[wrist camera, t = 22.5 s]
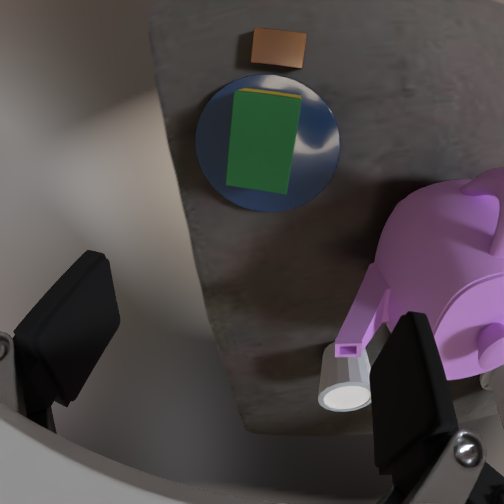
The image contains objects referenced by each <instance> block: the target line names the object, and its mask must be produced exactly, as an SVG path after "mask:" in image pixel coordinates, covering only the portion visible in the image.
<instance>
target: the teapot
mask: <svg viewBox="0 0 504 504" xmlns="http://www.w3.org/2000/svg"><path fill="white" fill-rule="evenodd" d="M408 311H413V312H419V313H425V314H426V315H427V318H428V320H429V323H430V326H431V329H432V332H433V335H434V338H435V341H436V344H437V348H438V351H439V354H440V357H441V361H442V364H443V367H444V371H445V375H446V378H447V380H455V379H462V378H466V377H471V376H475V375H478V374H482V373H485V372H488V371H490V370H493V369H495V368H497V367H499V366H501V365H503V364H504V168H494V169H491V170H488V171H486V172H484V173H482V174H480V175H479V176H477V177H475V178H474V179H456V180H449V181H444V182H440V183H435V184H432V185H429V186H426V187H423V188H420V189H418V190H416V191H415V192H413V193H411V194H409V195H408V196H407V197H406V198H405V199H403V200H401V201H400V202H399V203H398V204H397V205H396V206H395V208H394V210H393V212H392V213H391V215H390V216H389V218H388V220H387V222H386V224H385V226H384V228H383V231H382V234H381V236H380V239H379V243H378V246H377V250H376V255H375V262H374V263H372V264H370V265H369V267H368V270H367V272H366V274H365V277H364V279H363V281H362V284H361V286H360V288H359V291H358V293H357V295H356V297H355V300H354V302H353V304H352V306H351V308H350V310H349V313H348V315H347V317H346V319H345V321H344V323H343V325H342V327H341V329H340V332H339V334H338V336H337V338H336V340H335V357H361V352H362V351H363V350H364V348H365V347H366V345H367V344H368V343H369V341H370V340H371V338H372V337H373V336H374V334H375V333H376V331H377V330H378V328H379V327H380V325H381V324H382V323H384V322H385V323H386V325H387V327H388V329H389V331H390V332H391V333H392V331H393V329H394V327H395V326H396V324H397V322H398V320H399V318H400V317H401V316H402V315H405V314H406V313H407V312H408Z"/></svg>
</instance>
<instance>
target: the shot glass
mask: <svg viewBox="0 0 504 504" xmlns="http://www.w3.org/2000/svg"><path fill="white" fill-rule="evenodd" d="M370 370H371V368H370V364H369V360H368V356H367V352H366V348H364V350H363V351H362V352H361V357H335V342H333V343H331V344H329V345H328V346H327V347H326V348H325V350H324V353H323V359H322V368H321V377H320V385H319V393H318V401H319V404H320V405H321V406H323V407H324V408H325V409H328V410H332V411H339V412H347V411H353V410H357V409H360V408H363V407H365V406H367V405H368V404H370V403H371V392H370V381H369V373H370Z"/></svg>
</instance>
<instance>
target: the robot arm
mask: <svg viewBox="0 0 504 504" xmlns="http://www.w3.org/2000/svg"><path fill="white" fill-rule="evenodd" d="M119 324H120V315H119V310H118V305H117V301H116V296H115V291H114V285H113V281H112V275H111V269H110V263H109V260H108V259H106V257H105V255H104V254H103V253H100V252H95V251H91V250H87V251H86V252H85V253H84V254H83V255H82V256H81V257H80V258H79V259H78V260H77V261H76V262H75V263H74V264H73V265H72V266H71V267H70V268H69V269H68V270H67V271H66V272H65V273H64V274H63V275H62V276H61V277H60V278H59V280H58V281H57V282H56V283H55V284H54V285H53V286H52V287H51V288H50V289H49V290H48V291H47V293H46V294H45V295H44V296H43V297H42V298H41V299H40V300H39V302H38V303H37V304H36V305H35V306H34V307H33V308H32V310H31V311H30V312H29V313H28V314H27V315H26V317H25V318H24V319H23V320H22V321H21V323H20V324H19V325H18V326H17V328H16V329H15V330H14V333H15V336H14V337H13V338H11V336H10V335H8V334H7V333H5V332H0V504H290V503H279V502H271V501H264V500H257V499H249V498H244V497H239V496H233V495H227V494H223V493H218V492H213V491H209V490H205V489H200V488H196V487H192V486H188V485H184V484H181V483H177V482H174V481H171V480H167V479H164V478H161V477H157V476H154V475H151V474H148V473H146V472H143V471H140V470H137V469H134V468H131V467H129V466H126V465H123V464H121V463H118V462H116V461H113V460H111V459H108V458H106V457H104V456H101V455H99V454H97V453H94V452H92V451H90V450H87V449H86V448H83V447H81V446H79V445H77V444H75V443H73V442H71V441H69V440H67V439H65V438H63V437H61V436H59V435H57V433H56V429H55V424H54V419H53V414H52V409H51V405H52V403H53V402H54V401H55V402H58V403H59V404H62V405H63V406H66V407H68V405H69V403H70V401H74V400H75V399H76V398H77V396H78V394H79V393H80V391H81V389H82V387H83V386H84V384H85V382H86V380H87V379H88V377H89V375H90V374H91V372H92V370H93V368H94V367H95V365H96V363H97V361H98V360H99V358H100V357H101V355H102V353H103V352H104V350H105V348H106V347H107V345H108V343H109V342H110V340H111V338H112V337H113V335H114V334H115V332H116V331H117V329H118V327H119ZM369 381H370V392H371V404H372V418H373V435H374V458H375V465H376V467H379V475H392V479H393V480H392V481H393V484H392V485H391V486H390V487H389V489H388V490H387V491H386V492H385V494H384V495H383V496H382V497H381V498H380V500H379V501H378V502H377V503H376V504H504V477H503V476H502V475H501V474H499V473H498V472H497V471H496V470H495V469H494V468H492V467H491V466H490V465H489V464H487V463H486V462H485V460H486V456H487V450H486V445H485V442H484V441H483V439H482V437H481V436H480V435H479V434H478V433H477V432H474V431H473V430H469V429H463V430H459V429H458V423H457V418H456V414H455V410H454V405H453V401H452V397H451V393H450V389H449V386H448V382H447V378H446V375H445V371H444V367H443V364H442V361H441V357H440V354H439V351H438V348H437V344H436V341H435V338H434V335H433V332H432V329H431V326H430V323H429V320H428V318H427V315H426V314H425V313H419V312H413V311H408V312H407V313H406V314H405V315H402V316H401V317H400V318H399V320H398V322H397V324H396V326H395V327H394V329H393V331H392V333H391V335H390V336H389V338H388V340H387V342H386V344H385V345H384V347H383V349H382V350H381V352H380V354H379V356H378V357H377V359H376V361H375V362H374V364H373V366H372V367H371V370H370V373H369ZM480 384H481V386H482V388H483V389H486V390H492V392H493V395H494V398H495V401H496V404H497V408H498V411H499V414H500V418H501V421H502V425H503V428H504V364H503V365H501V366H499V367H497V368H495V369H493V370H490V371H488V372H485V373H482V374H480Z"/></svg>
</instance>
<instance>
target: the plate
mask: <svg viewBox="0 0 504 504" xmlns="http://www.w3.org/2000/svg"><path fill="white" fill-rule="evenodd" d="M243 88H249V89H258V90H266V91H274V92H281V93H288V94H294V95H300V96H301V107H300V114H299V120H298V127H297V133H296V139H295V146H294V152H293V158H292V164H291V170H290V176H289V182H288V188H287V194H286V195H285V194H279V193H273V192H267V191H260V190H254V189H248V188H241V187H234V186H227V185H226V184H225V183H226V171H227V159H228V147H229V136H230V126H231V115H232V105H233V95H234V91H236V90H239V89H243ZM195 147H196V153H197V158H198V161H199V164H200V167H201V169H202V171H203V173H204V175H205V177H206V178H207V180H208V181H209V182H210V184H211V185H212V186H213V187H214V188H215V189H216V190H217V191H218V192H219V193H220V194H221V195H222V196H224V197H225V198H226V199H228V200H229V201H231V202H233V203H235V204H237V205H239V206H241V207H244V208H247V209H250V210H254V211H260V212H280V211H286V210H290V209H294V208H296V207H299V206H301V205H303V204H305V203H307V202H309V201H310V200H312V199H313V198H314V197H316V196H317V195H318V194H319V193H320V192H321V191H322V190H323V189H324V188H325V187H326V185H327V184H328V183H329V181H330V180H331V178H332V176H333V174H334V172H335V170H336V168H337V164H338V161H339V155H340V135H339V130H338V126H337V123H336V120H335V118H334V116H333V114H332V112H331V110H330V109H329V107H328V106H327V104H326V103H325V102H324V101H323V100H322V98H321V97H320V96H319V95H318V94H317V93H315V92H314V91H313V90H312V89H310V88H309V87H308V86H306V85H305V84H303V83H301V82H299V81H297V80H294V79H291V78H288V77H285V76H280V75H273V74H259V75H252V76H247V77H244V78H241V79H238V80H235V81H234V82H232V83H230V84H228V85H226V86H225V87H223V88H222V89H221V90H219V91H218V92H217V93H216V94H215V95H214V96H213V97H212V98H211V99H210V101H209V102H208V103H207V105H206V106H205V108H204V110H203V111H202V114H201V116H200V118H199V121H198V125H197V129H196V136H195Z"/></svg>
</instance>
